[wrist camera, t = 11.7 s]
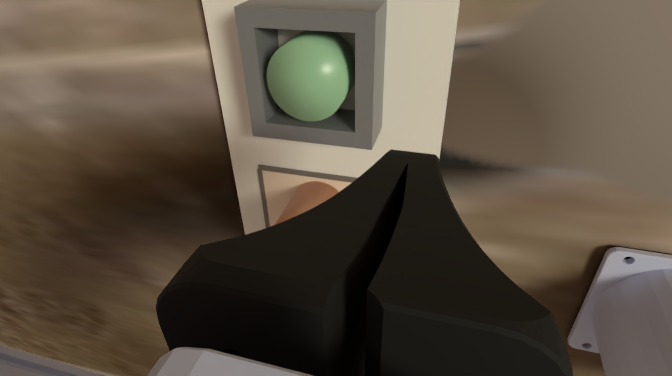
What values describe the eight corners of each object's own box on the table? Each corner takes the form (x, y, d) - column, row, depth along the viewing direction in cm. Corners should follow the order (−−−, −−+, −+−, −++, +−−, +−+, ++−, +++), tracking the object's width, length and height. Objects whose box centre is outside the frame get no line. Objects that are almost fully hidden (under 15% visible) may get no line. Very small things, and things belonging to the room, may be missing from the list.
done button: (357, 30, 19) (344, 43, 17) (357, 106, 21) (345, 125, 19) (281, 26, 20) (262, 38, 18) (288, 99, 22) (271, 117, 20)
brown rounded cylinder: (346, 230, 26) (315, 305, 21) (295, 221, 27) (254, 291, 22) (347, 184, 24) (312, 256, 19) (292, 176, 25) (246, 243, 20)
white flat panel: (462, -14, 18) (461, -11, 17) (415, 346, 31) (413, 354, 31) (205, -20, 21) (197, -17, 20) (263, 312, 34) (259, 319, 33)
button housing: (387, -1, 18) (375, 12, 16) (381, 127, 22) (371, 150, 20) (258, -4, 20) (233, 6, 18) (272, 116, 23) (252, 136, 21)
